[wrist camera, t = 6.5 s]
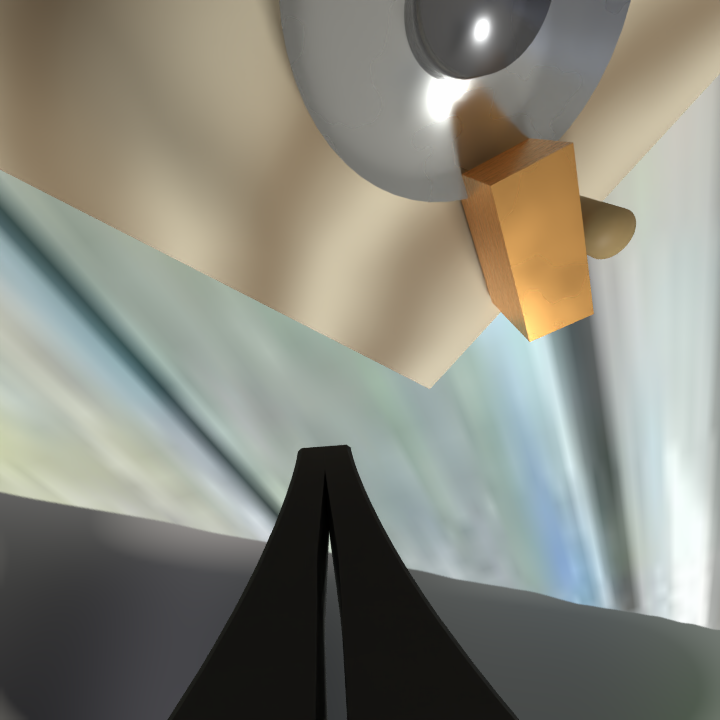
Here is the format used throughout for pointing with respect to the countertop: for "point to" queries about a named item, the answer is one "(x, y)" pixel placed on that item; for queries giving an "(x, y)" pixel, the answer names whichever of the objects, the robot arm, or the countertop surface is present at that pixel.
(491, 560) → the countertop surface
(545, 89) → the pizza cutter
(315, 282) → the board
